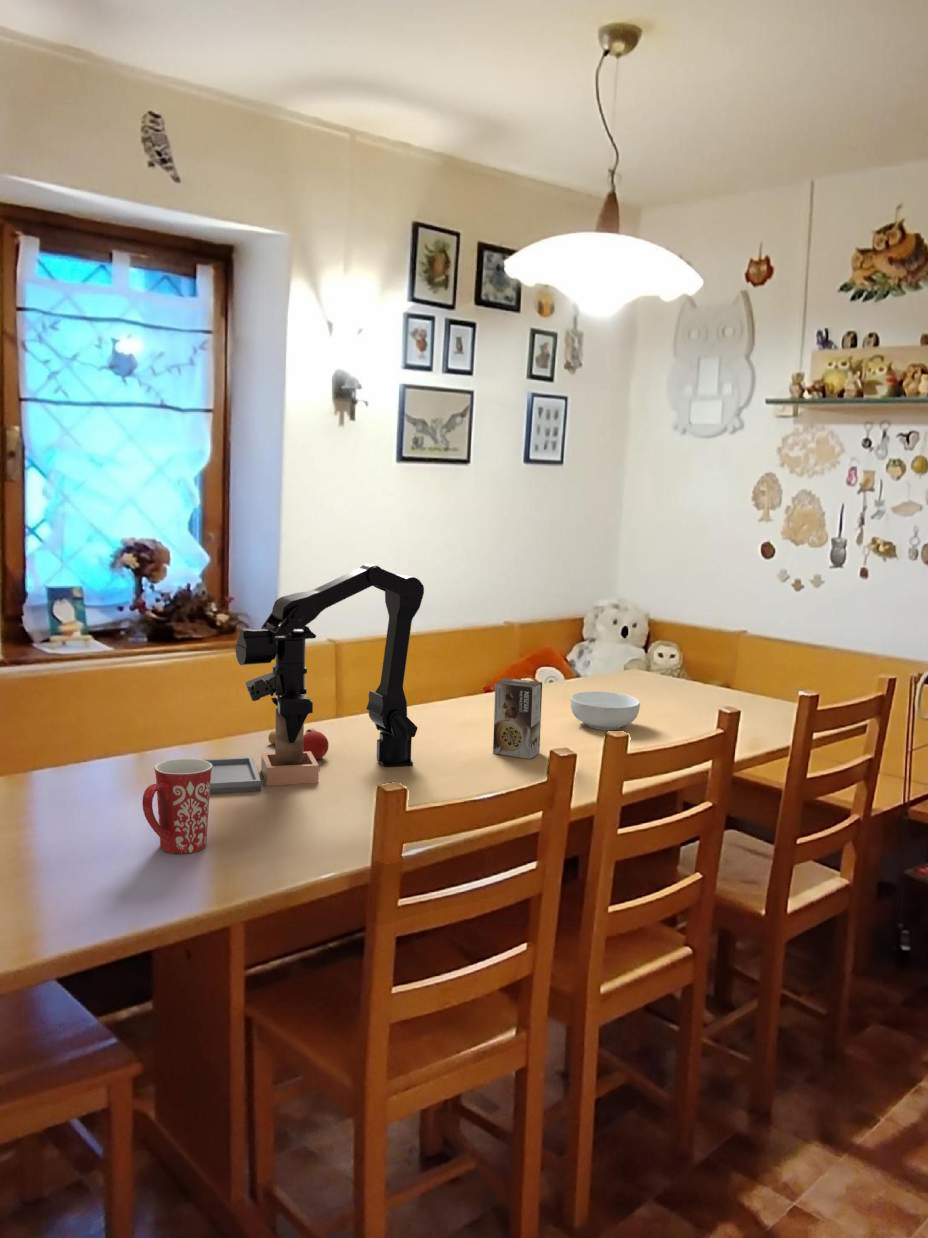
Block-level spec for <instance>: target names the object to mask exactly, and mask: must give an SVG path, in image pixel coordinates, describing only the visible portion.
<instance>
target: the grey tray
mask: <svg viewBox="0 0 928 1238" xmlns="http://www.w3.org/2000/svg"><path fill="white" fill-rule="evenodd" d="M200 760H205V761H208V762H210V763H211V764H212V766H213V767H212V770H211V781H210V794H211V795H212V794H214V795H215V794H226V793H228V794H230V793H246V792H261V790H262V786H261V785H262V783H261V782H262V781H261V777H260V775H259V772H258V769H257V766H256V763H255V761H254V759H253V757H252V756H248V757H228V758H227V757H226V758H205V759H203V758H201V759H200Z"/></svg>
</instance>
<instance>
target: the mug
mask: <svg viewBox="0 0 928 1238" xmlns="http://www.w3.org/2000/svg"><path fill="white" fill-rule="evenodd" d="M212 767H213V766H212V764H211V763H210V762H208V761H205V760H201V759H199V758H190V757H189V758H186V757H185V758H183V757H182V758H174V759H173V758H172V759H167V760H163V761H161V762H158V763H156V764H155V765H154V766H153V769H154V772H155V783H152V784H150V785H148V786H147V787H146V789H145V790H144V792H143V795H142V810H143V814H144V815H143V816H144V817H145V819H146V821H147V823H148V824H149V826H150V828H151V829H152V830H153V832H154V833H155V834H156V835H157V836H158V837H159V847H160V849H161V850H162V851H163V852H167V853H169V854H170V853H171V854H175V853H177V854H176V855H178V853H179V854H180V853H181V854H182V855H183V853H184V854H192V853H196V852H198V851H201V850H203V849H205V848H206V846H207V841H208V824H209V813H210V811H209V809H210V796H211V795H210V781H211V770H212ZM155 794H156V797H157V798H156V799H157V800H156V801H157V812H158V813H157V816H158V819H157V818H156V816H155V813H154V809H153V802H154V801H153V800H154V796H155ZM181 854H180V855H181Z"/></svg>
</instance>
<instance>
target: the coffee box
mask: <svg viewBox="0 0 928 1238" xmlns="http://www.w3.org/2000/svg"><path fill="white" fill-rule="evenodd" d="M542 695H543V681H535V680H529V679H528V680H527V679H526V680H525V679H520V678H512V677H511V678H509V677H504V678H502V679H500V680H499V681H497V682H495V683H494V710H493V711H494V712H493V713H494V715H493V743H492V744H493V745H492V754H495V755H502V756H508V757H515V758H522V759H528V760H530V759H532V758H534V757H536V756H537V755H539V754H540V752H541V751H540V747H541V746H540V745H541V744H540V743H541V728H542V727H541V721H542V700H543V697H542Z"/></svg>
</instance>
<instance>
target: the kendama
mask: <svg viewBox="0 0 928 1238" xmlns="http://www.w3.org/2000/svg"><path fill="white" fill-rule="evenodd" d="M268 742H269V743H270V744H271V745H275V730H272V731H271V732H270V733H269V734H268ZM329 745H330V744H329V740H328V738H327V736H326V735H325V734H324V733H322V732H321V731H317V730H316V729H315V728H309V729H306V731H304V741H303V752H307V751H311V752H312V754H313V756H314V758H315V760H316V761H317V760H321V759H322V758H323V757H325V755H327V753H328V750H329Z"/></svg>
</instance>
